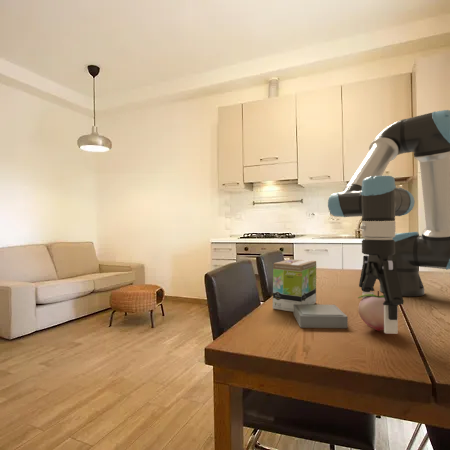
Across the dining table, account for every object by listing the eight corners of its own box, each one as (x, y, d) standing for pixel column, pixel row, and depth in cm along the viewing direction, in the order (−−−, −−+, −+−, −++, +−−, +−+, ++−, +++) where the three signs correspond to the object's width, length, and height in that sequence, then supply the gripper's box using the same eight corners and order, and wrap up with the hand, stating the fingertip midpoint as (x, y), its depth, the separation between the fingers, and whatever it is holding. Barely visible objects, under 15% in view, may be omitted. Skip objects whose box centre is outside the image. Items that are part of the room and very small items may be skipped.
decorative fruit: (360, 335, 77) (360, 293, 77) (356, 324, 84) (356, 287, 84) (404, 338, 74) (403, 295, 74) (396, 327, 82) (395, 288, 82)
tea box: (302, 313, 95) (302, 264, 95) (271, 309, 100) (271, 262, 100) (317, 303, 108) (316, 259, 108) (288, 299, 113) (288, 258, 113)
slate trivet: (334, 314, 94) (334, 304, 94) (347, 328, 82) (347, 315, 82) (293, 314, 94) (293, 303, 94) (300, 327, 82) (300, 315, 82)
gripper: (347, 236, 92) (347, 310, 92) (384, 241, 67) (384, 341, 67) (373, 236, 91) (374, 310, 91) (421, 241, 66) (421, 342, 66)
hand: (378, 324), depth 79 cm, fingers open, 13 cm apart
